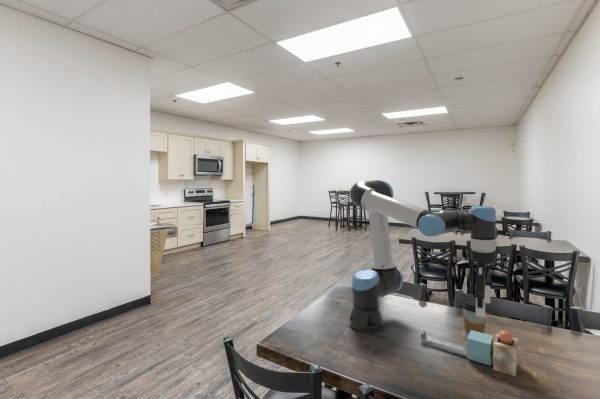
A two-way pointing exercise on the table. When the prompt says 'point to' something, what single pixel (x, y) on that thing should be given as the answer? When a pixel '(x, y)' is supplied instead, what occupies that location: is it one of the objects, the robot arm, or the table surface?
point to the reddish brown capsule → (505, 336)
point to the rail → (445, 345)
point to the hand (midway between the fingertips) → (483, 309)
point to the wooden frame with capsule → (505, 356)
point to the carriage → (480, 347)
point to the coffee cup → (472, 317)
